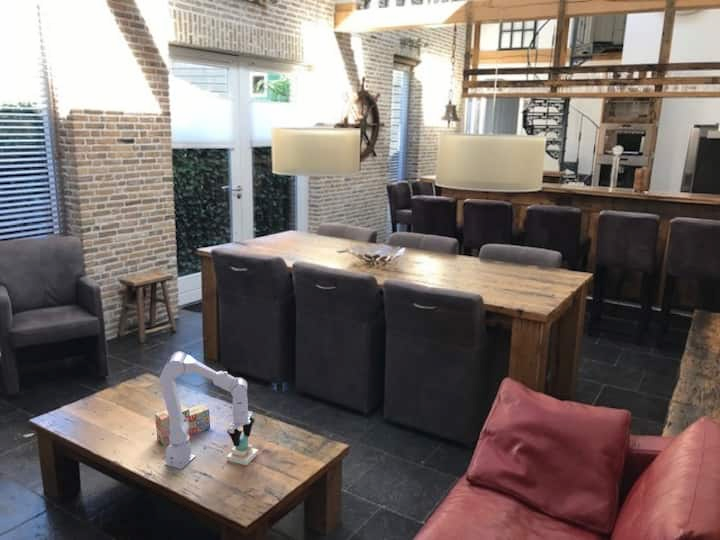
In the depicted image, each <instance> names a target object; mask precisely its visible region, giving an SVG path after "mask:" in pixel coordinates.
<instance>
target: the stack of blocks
mask: <svg viewBox="0 0 720 540" xmlns="http://www.w3.org/2000/svg"><path fill="white" fill-rule="evenodd" d="M180 406H181V410H182V414H183V415H185V418H186V420H187V421H188V422H189V425H190V427H189V430H188V432H187V433H188V435H189V437H190V436H192V435H196V434H197V433H201V432H204V431H206V430H209V429H211V416H210V409H209V408H208V407H207V406H205V405H204V404H198V405H196V406H192V407H190V408H188V407H187V406H185V405H184V404H180ZM154 416H155V428H156V429H155V430H156V436H157V437H156V439H157V441H159V442H160V443H161V445H163V446H166V445H169V444H170V440H169V435H170V429H169V425H170V420H169V416H168V412H167V409H165V410H162V411H158V412H156V413H155V414H154Z"/></svg>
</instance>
